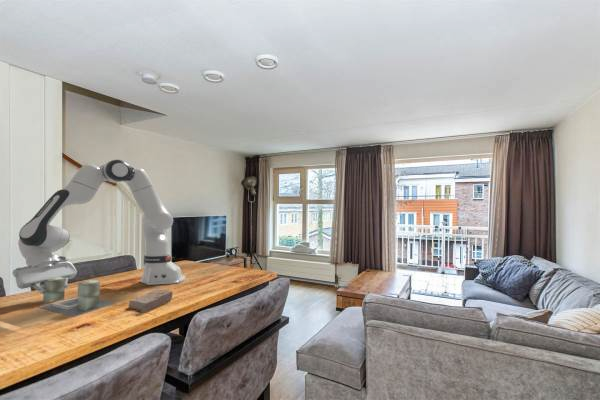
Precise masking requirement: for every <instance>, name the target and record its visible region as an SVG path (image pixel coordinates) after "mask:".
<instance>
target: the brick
mask: <svg viewBox="0 0 600 400" xmlns="http://www.w3.org/2000/svg"><path fill="white" fill-rule="evenodd" d="M173 293H174V292H173V290H170V289H158V288H157V289H154V290H152V291H150V292H148V293H145V294H143V295H140V296H138V297H135V298H133V299H130V300H129V303H128V309H136V311H135V313H138V314H139V313H140V314H145V313H147V312H150V311H151V310H153V309H156V308H158V307H160V306H162V305H164V304H167V303H168V302H170V301H172V299H173Z"/></svg>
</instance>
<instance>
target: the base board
mask: <svg viewBox="0 0 600 400" xmlns="http://www.w3.org/2000/svg"><path fill="white" fill-rule="evenodd" d="M77 301H78V296H75V297H72V298H69V299H64V300H62V301H61V300H60V301H56V302H52V303H48V304H46V305H42V306H39V307H37V308H38V309H41V310H44V311H49V312H54V313H57V314H61V315H65V316H69V317H71V318H75V317H79V316H81V315H84V314H88V313H91V312H93V311H94V312H95V311H96V310H100V309H103V308H106V307H109V306H112V305H115V304H117V302H113V301H109V300H104V299H99V307H96V308H93V309H89V310H86V311H85V310H81V309H77Z"/></svg>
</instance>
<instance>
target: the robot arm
mask: <svg viewBox="0 0 600 400" xmlns="http://www.w3.org/2000/svg"><path fill="white" fill-rule="evenodd" d="M121 182H124V183H125V184H126V185H127V186H128V187H129V191H130V192H131V194H132V196H133V198H134V200H135V202H136V204H137V206H138V207H139V208H140V210H141V212H142V213H143V214H144V215H143V217H142V222H143V230H144V238H145V246H144V247H145V249H144V252H145V254H144V257H143V273H142V277H141V279H140V283H142V284H146V285H148V286H151V285H152V286H153V285H154V286H155V285H169V284H170V285H172V284H180V283H182V282H185V280H186V275H182V270H181V269H182V268H181V267H180V266H178V265H177V264H175V262H172V255H170V254H168V245H169V244H168V243H169V240H168V237H167V233H166V231H167V230H168V229H170V228H171V227H172V226H173V224H174V218H173V215H172V214H170V212H169V210H168V209H167V207H166V206H165V205H164V203H163V202H162V200H161V198H160V196H159V194H158V192H157V190H156V188H155V186H154V184H153V182H152V180H151V178H150V176H149V175H148V172H146V171H145V169H143V168H141V167H133V166H132V165H130V164H129V163H128V162H126V161H124V160H122V159H112V160H109V161H107V162H106V163H104V164H102V165H101V166H99V165H96V164H92V163H91V164H90V163H86V164H84V165H82V166H81V167H80V168H79V169H78V170H77V172H76V173H75V174H74V175H73V177H72V178H71V180H70V181H69V182H68V184H67V185H66V186H65V187H64V188H62V189H59V190H57V191H55V193H53V194H52V195H51V197H50V198H48V200H47V201H46V202H45V203H44V204H43V206H42V207H40V209H39V210H38V211H37V213H36V214H35V215H34V216H32V218H31V219H30V220H29V221H28V222H26V223H25V224H24V225H23V226H22V227H21V228H20V229H19V232H18V233H19V234H18V235H19V236H18V237H19V239H18V242H17V243H18V249H19V251H20V254H21V255H22V257H23V258H24V259H25V264H26V266H23V267H17V268H15V269H13V270H12V275H13V277H14V278H15V283H16V287H17V288H18V289H21V290H23V289H28V288H33V289H35V290H36V291H38V292H39V293H40V294H41V295H42V294H43V293H46V291H47V289H46V287H44V281H45V280H47V279H52V278H57V277H61V278H65V289H67V288H68V287H69V284H68V281H69V280H72V279H74V278H75V277H76V276H77V273H78V271H77V269H76V267H75V265H74V264H73V263H72V262H71V261H69V257H68V256H65V255H57V254H56V255H55V254H53V253H55V252H56V251H59V250H60V249H62V248H64V247H65V246H66V245H67V244H68V243H69V241H70V233H69V231H68V230H67V229H65V228H63V227H59V226H55V225H50V223H51V222H52V221H53V220H54V218H56V216H57V215H58V214H59V212H60V211H61V210H62V209H63V208H65V207H67V206H71V205H83V204H86V203H89V202H91V200H93V199H94V197H95V196H96V194H97V192H98V190H99V188H100V186H101V185H102V184H103V183H110V184H116V183H121ZM42 285H43V286H42Z"/></svg>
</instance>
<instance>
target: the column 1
mask: <svg viewBox="0 0 600 400" xmlns="http://www.w3.org/2000/svg"><path fill="white" fill-rule="evenodd" d="M44 287H46V289H47V291H46V293H42V294H43V297H42V304H43V305H44V304H50V303H55V302H59V301H61V300H62V301H63V300H65V294H66V293H65V292H66V291H65V289H66V288H65V278H61V277H57V278H52V279H47V280H45V281H44V284H43V288H44Z"/></svg>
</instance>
